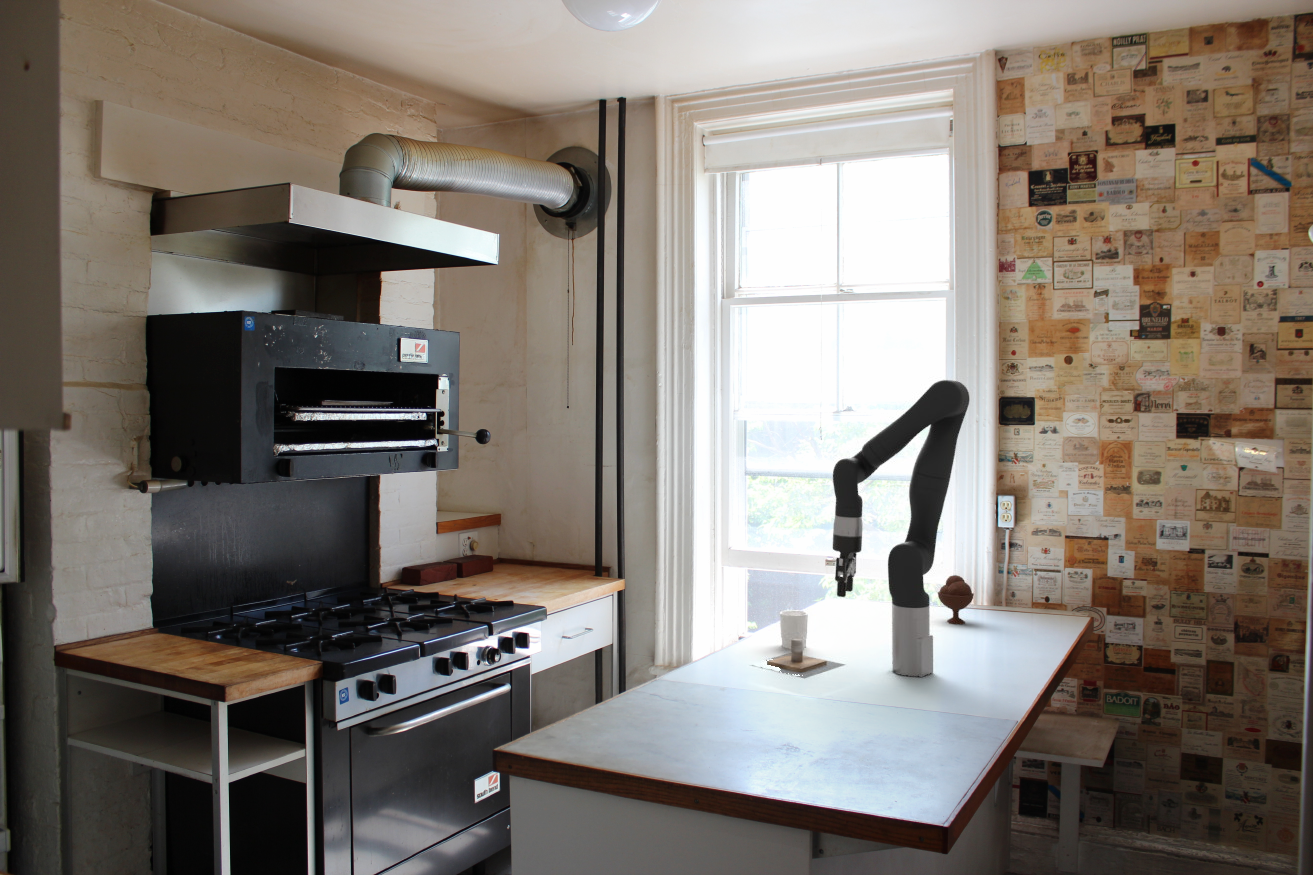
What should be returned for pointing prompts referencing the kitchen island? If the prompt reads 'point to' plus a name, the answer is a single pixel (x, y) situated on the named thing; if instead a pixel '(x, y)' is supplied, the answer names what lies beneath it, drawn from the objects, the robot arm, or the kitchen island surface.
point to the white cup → (793, 626)
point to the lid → (797, 659)
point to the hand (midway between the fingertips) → (844, 593)
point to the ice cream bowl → (955, 597)
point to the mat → (812, 672)
